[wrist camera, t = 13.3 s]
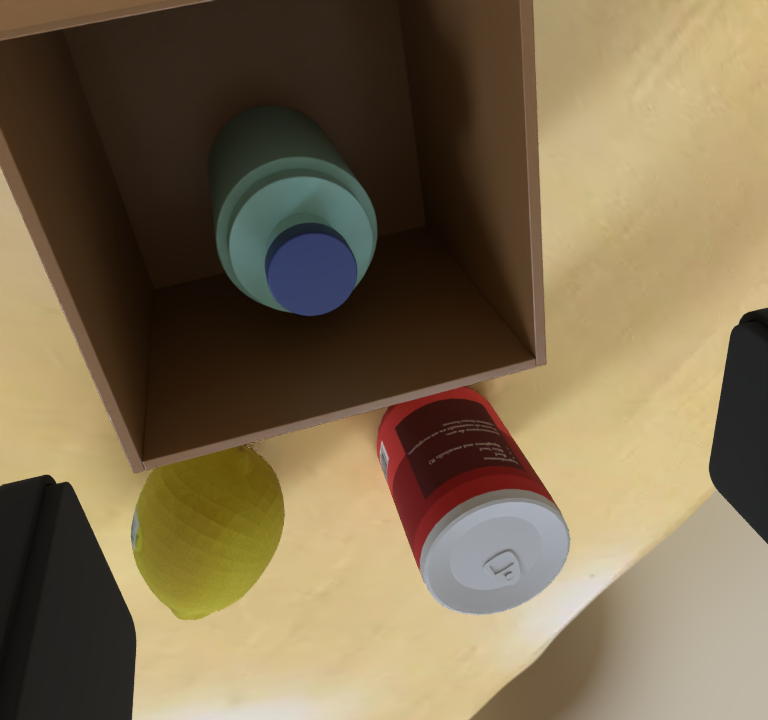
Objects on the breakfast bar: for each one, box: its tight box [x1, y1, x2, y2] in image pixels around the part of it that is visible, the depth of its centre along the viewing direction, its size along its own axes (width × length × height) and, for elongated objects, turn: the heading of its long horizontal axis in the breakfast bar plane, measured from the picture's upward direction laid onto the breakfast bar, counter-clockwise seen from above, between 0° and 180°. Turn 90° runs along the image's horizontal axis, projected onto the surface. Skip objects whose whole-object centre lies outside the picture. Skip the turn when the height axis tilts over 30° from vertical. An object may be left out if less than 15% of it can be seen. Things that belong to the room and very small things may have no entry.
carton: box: [0, 0, 546, 473], centre depth 28 cm, size 14×15×14 cm
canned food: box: [377, 386, 570, 615], centre depth 41 cm, size 8×8×11 cm
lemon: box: [131, 445, 285, 620], centre depth 40 cm, size 11×8×8 cm
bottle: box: [208, 106, 378, 316], centre depth 29 cm, size 6×6×12 cm
